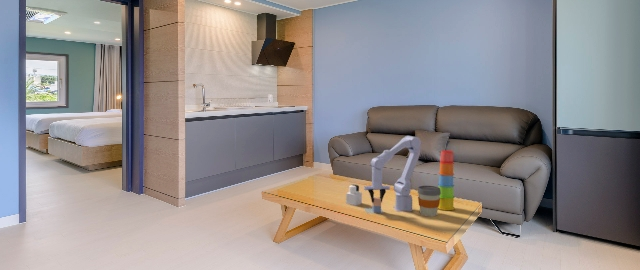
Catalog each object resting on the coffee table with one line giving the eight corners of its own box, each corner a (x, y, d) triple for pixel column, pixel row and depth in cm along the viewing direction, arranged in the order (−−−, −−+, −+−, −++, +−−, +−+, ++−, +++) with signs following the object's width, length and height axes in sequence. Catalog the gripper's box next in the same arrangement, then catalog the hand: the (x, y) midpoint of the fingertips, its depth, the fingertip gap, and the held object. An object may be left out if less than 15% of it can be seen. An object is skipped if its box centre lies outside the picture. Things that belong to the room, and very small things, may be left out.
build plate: (379, 208, 219) (379, 207, 219) (384, 213, 209) (384, 212, 209) (363, 208, 219) (363, 207, 218) (367, 213, 209) (367, 213, 209)
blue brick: (379, 210, 213) (379, 204, 213) (380, 212, 209) (380, 206, 209) (372, 210, 213) (372, 204, 212) (374, 213, 209) (374, 206, 208)
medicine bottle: (352, 201, 233) (352, 183, 232) (361, 203, 229) (362, 184, 227) (346, 204, 228) (346, 185, 226) (355, 206, 223) (355, 187, 222)
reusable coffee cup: (413, 211, 213) (413, 186, 212) (432, 209, 216) (433, 184, 215) (424, 218, 201) (424, 191, 199) (444, 216, 204) (445, 190, 202)
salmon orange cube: (379, 203, 213) (379, 197, 213) (380, 205, 209) (381, 199, 209) (372, 204, 213) (372, 197, 212) (374, 206, 209) (374, 199, 208)
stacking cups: (433, 207, 220) (434, 151, 216) (443, 204, 226) (444, 149, 222) (448, 212, 211) (450, 153, 208) (458, 208, 218) (460, 151, 214)
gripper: (387, 177, 214) (387, 199, 215) (363, 177, 212) (362, 200, 214) (390, 179, 207) (390, 203, 208) (365, 180, 205) (365, 203, 207)
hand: (376, 202), depth 210 cm, fingers open, 4 cm apart
